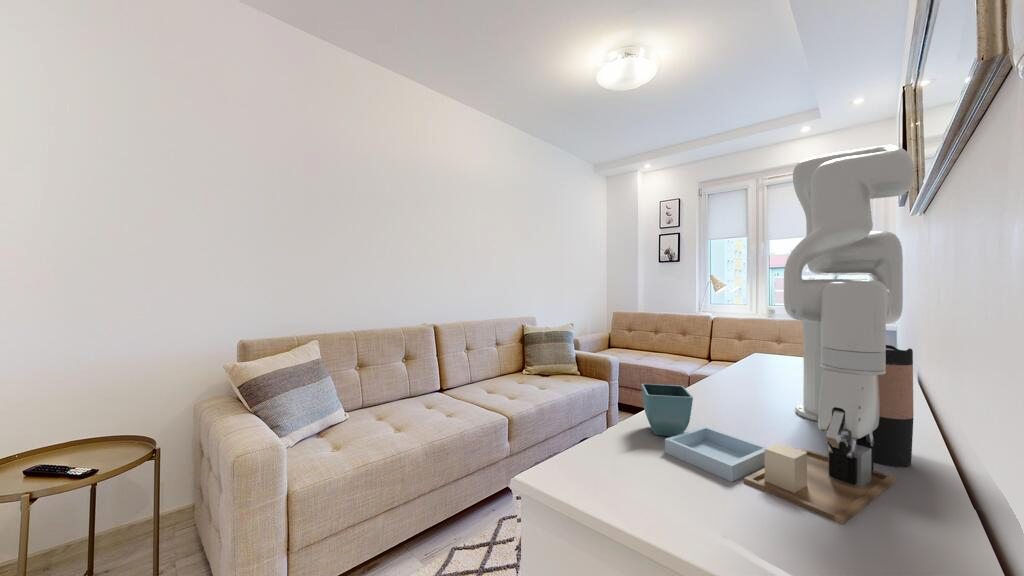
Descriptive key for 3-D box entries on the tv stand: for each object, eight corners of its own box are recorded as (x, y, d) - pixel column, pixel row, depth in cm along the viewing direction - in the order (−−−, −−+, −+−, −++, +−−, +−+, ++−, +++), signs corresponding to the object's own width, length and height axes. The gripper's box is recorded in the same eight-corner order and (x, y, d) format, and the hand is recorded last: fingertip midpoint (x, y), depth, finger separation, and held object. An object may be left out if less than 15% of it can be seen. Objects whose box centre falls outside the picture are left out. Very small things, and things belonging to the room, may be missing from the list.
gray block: (838, 470, 62) (838, 439, 62) (871, 480, 58) (871, 448, 58) (828, 476, 60) (828, 444, 60) (861, 488, 56) (861, 454, 56)
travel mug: (851, 461, 66) (851, 347, 66) (852, 447, 71) (852, 342, 71) (915, 476, 61) (916, 352, 60) (911, 460, 66) (911, 346, 66)
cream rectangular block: (777, 474, 60) (777, 443, 60) (807, 485, 57) (807, 452, 57) (764, 480, 58) (764, 448, 58) (794, 493, 55) (794, 458, 55)
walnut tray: (803, 455, 68) (803, 448, 68) (895, 485, 58) (895, 477, 58) (743, 485, 58) (744, 478, 58) (842, 528, 48) (842, 519, 48)
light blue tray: (704, 441, 75) (704, 426, 75) (771, 466, 64) (771, 448, 64) (664, 455, 68) (664, 439, 68) (731, 485, 58) (731, 466, 58)
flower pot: (693, 442, 74) (693, 396, 74) (646, 439, 76) (646, 394, 76) (683, 426, 83) (683, 385, 83) (640, 423, 84) (640, 383, 84)
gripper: (843, 350, 66) (843, 451, 67) (798, 362, 58) (798, 479, 58) (903, 357, 60) (902, 469, 60) (862, 372, 51) (862, 503, 51)
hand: (851, 473), depth 59 cm, fingers open, 6 cm apart
